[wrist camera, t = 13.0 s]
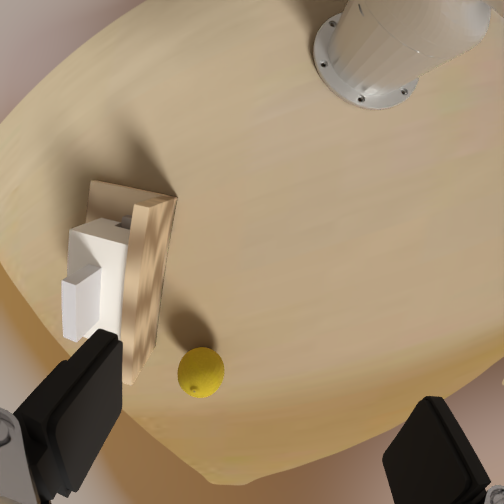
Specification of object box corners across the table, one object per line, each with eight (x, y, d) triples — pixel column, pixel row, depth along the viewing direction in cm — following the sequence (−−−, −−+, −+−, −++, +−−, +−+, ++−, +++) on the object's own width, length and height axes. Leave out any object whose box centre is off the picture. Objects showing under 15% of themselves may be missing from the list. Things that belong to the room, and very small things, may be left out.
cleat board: (95, 180, 35) (52, 186, 27) (177, 197, 36) (149, 207, 27) (85, 322, 41) (52, 354, 32) (155, 346, 41) (131, 385, 32)
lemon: (236, 353, 40) (229, 392, 33) (211, 377, 42) (200, 416, 34) (202, 328, 40) (187, 363, 32) (178, 354, 41) (161, 390, 33)
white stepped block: (101, 217, 35) (39, 240, 24) (153, 230, 35) (104, 260, 24) (94, 306, 39) (45, 351, 27) (142, 322, 39) (101, 375, 27)
